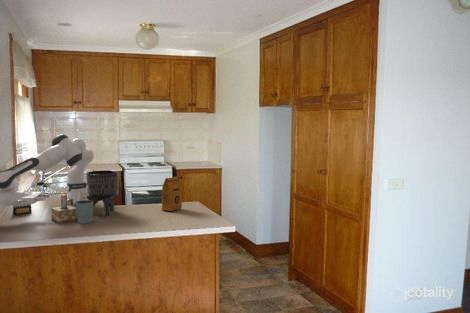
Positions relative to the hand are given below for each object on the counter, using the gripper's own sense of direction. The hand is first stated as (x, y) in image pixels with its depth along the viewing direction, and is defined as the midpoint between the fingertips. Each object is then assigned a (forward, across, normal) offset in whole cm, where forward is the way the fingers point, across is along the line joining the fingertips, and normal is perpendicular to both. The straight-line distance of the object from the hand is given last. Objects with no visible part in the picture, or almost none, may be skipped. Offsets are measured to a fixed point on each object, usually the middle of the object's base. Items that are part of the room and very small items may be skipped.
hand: (47, 197), depth 252 cm
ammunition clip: (-20, +21, +14) cm, 32 cm away
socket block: (+9, 0, +14) cm, 17 cm away
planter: (+30, +14, +14) cm, 36 cm away
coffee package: (+73, +16, +14) cm, 77 cm away
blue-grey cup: (+22, -7, +14) cm, 27 cm away
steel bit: (+9, 0, +13) cm, 16 cm away
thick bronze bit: (+10, +13, +14) cm, 21 cm away
